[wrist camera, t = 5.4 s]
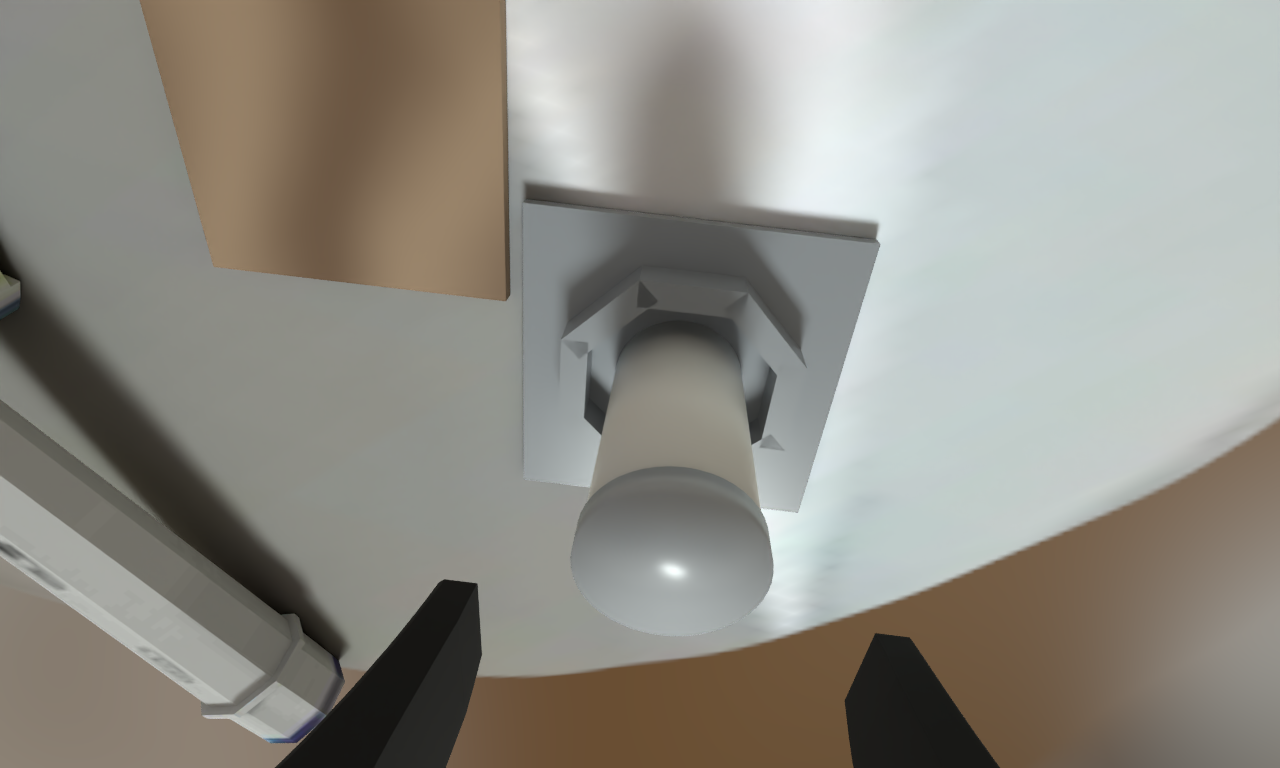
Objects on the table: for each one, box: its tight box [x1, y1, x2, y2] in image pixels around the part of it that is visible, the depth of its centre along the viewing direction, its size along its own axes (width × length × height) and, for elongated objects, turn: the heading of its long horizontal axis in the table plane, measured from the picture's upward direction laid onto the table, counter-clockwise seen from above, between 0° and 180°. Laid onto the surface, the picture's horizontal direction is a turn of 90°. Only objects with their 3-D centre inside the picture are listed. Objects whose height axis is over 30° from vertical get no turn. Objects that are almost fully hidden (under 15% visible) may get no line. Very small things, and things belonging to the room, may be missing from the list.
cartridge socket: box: [523, 199, 880, 513], centre depth 19 cm, size 10×10×2 cm
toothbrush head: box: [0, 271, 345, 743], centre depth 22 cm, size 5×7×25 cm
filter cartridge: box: [571, 321, 773, 636], centre depth 16 cm, size 4×4×8 cm
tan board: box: [140, 0, 510, 301], centre depth 16 cm, size 9×10×1 cm
